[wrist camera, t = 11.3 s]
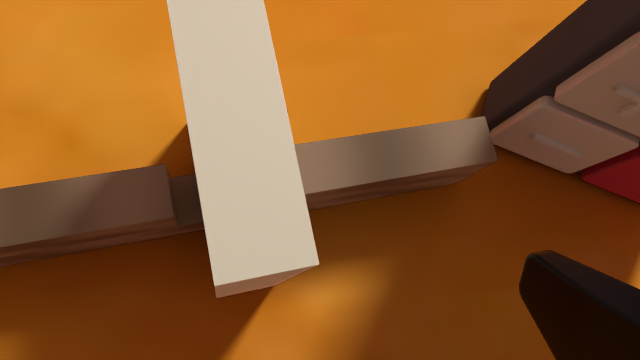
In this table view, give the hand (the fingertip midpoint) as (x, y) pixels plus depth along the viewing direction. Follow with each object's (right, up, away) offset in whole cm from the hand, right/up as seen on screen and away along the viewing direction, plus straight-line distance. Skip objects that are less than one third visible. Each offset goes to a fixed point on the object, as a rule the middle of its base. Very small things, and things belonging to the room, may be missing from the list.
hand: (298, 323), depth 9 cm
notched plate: (-4, +1, +14) cm, 15 cm away
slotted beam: (-4, +1, +14) cm, 15 cm away
